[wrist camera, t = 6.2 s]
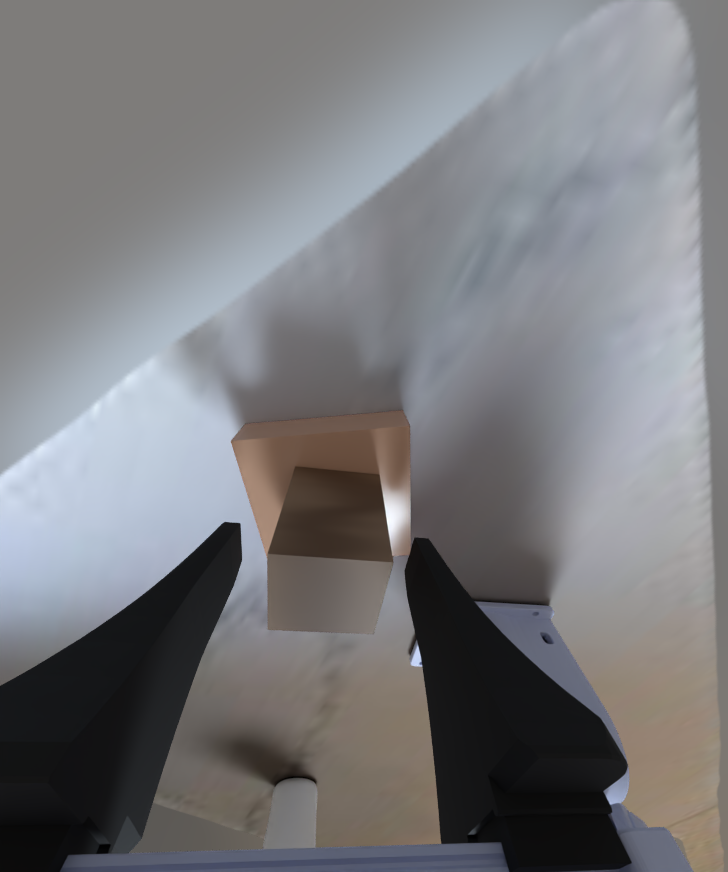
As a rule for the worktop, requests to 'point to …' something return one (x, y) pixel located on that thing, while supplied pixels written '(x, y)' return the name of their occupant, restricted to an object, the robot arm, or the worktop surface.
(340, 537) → the walnut block
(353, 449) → the terracotta tile
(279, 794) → the drinking glass
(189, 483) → the worktop surface
